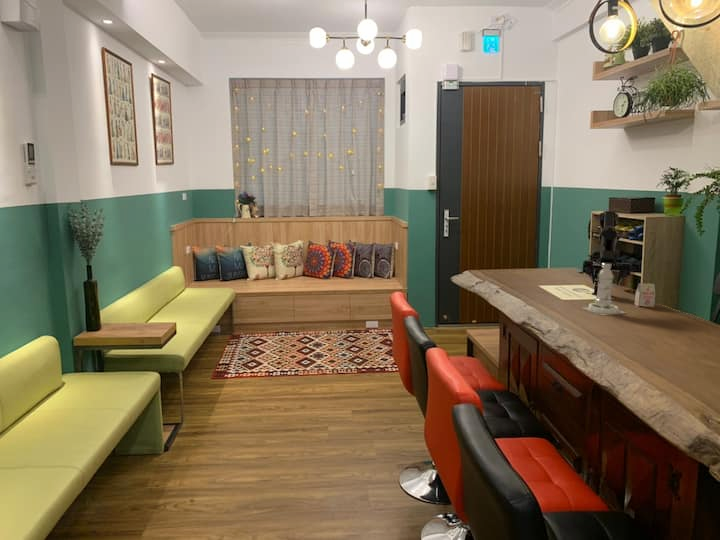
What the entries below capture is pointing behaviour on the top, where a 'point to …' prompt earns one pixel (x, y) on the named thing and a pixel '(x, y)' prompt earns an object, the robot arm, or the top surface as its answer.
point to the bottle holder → (603, 310)
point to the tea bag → (645, 295)
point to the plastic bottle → (604, 286)
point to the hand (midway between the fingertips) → (605, 284)
